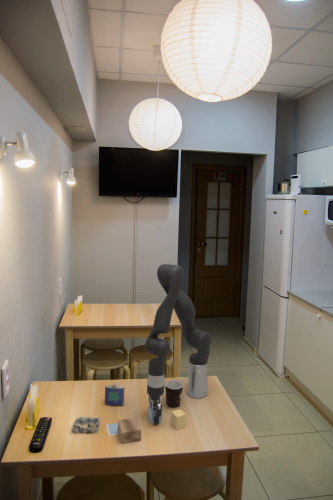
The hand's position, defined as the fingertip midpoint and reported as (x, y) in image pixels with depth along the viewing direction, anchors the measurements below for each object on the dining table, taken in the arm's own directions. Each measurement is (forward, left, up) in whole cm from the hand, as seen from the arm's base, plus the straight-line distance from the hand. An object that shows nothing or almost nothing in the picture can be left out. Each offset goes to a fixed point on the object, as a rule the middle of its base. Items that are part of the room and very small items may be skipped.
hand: (154, 418), depth 157 cm
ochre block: (-9, +6, -1) cm, 11 cm away
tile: (+17, +2, -1) cm, 17 cm away
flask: (+15, -17, -1) cm, 23 cm away
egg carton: (+29, -1, -1) cm, 29 cm away
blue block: (0, 0, -1) cm, 1 cm away
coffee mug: (-11, -10, -1) cm, 15 cm away
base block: (+13, +8, -1) cm, 15 cm away
